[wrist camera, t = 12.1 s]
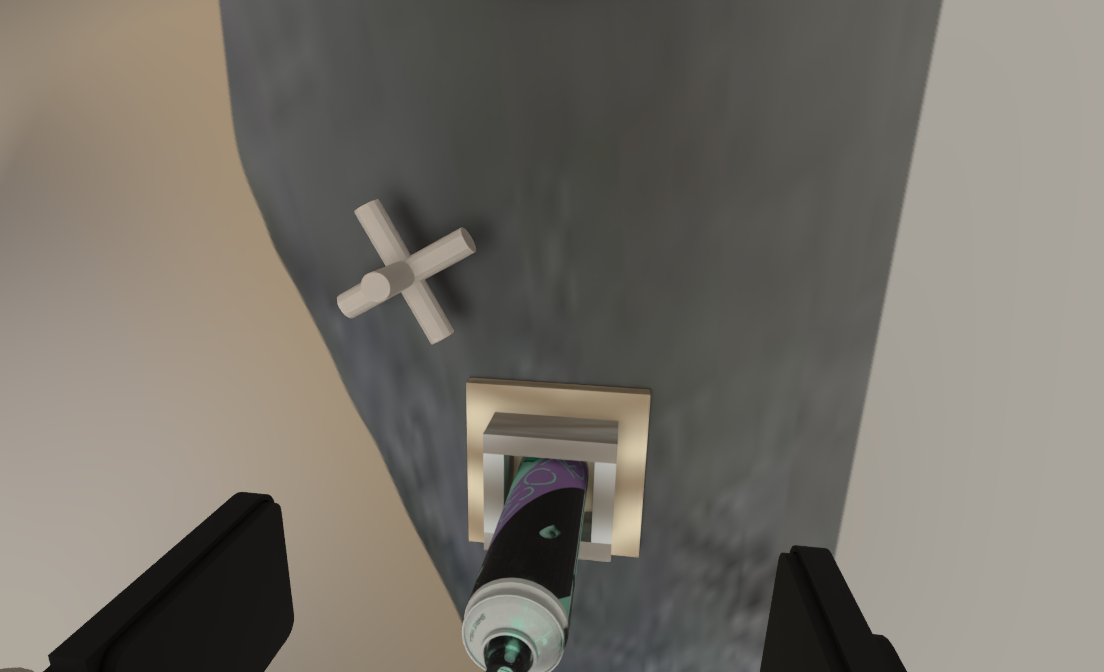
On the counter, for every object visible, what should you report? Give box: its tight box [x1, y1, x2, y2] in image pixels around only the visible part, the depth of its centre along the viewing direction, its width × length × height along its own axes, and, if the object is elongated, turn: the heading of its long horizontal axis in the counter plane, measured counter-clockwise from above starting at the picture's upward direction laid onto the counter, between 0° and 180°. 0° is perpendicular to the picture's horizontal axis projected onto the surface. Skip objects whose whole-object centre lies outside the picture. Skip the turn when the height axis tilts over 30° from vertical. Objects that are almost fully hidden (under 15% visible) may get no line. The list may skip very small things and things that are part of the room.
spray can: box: [462, 456, 589, 672], centre depth 37 cm, size 6×6×20 cm
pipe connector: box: [337, 199, 476, 344], centre depth 40 cm, size 10×10×10 cm
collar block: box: [466, 377, 651, 562], centre depth 45 cm, size 14×14×5 cm
